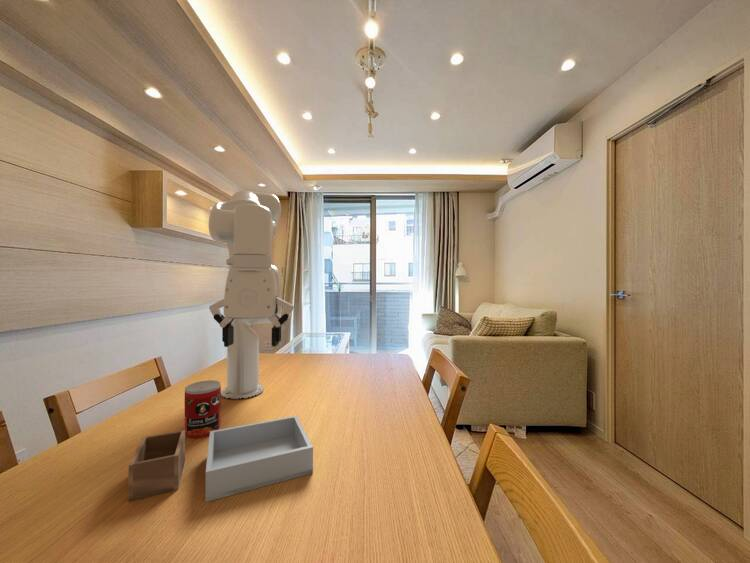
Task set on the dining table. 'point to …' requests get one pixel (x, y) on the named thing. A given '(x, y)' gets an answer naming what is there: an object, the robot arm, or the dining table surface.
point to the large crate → (256, 456)
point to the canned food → (202, 408)
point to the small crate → (156, 465)
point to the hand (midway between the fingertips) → (252, 345)
